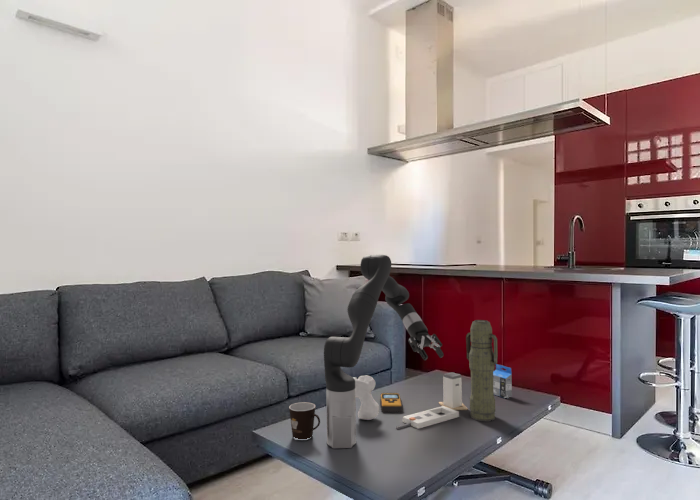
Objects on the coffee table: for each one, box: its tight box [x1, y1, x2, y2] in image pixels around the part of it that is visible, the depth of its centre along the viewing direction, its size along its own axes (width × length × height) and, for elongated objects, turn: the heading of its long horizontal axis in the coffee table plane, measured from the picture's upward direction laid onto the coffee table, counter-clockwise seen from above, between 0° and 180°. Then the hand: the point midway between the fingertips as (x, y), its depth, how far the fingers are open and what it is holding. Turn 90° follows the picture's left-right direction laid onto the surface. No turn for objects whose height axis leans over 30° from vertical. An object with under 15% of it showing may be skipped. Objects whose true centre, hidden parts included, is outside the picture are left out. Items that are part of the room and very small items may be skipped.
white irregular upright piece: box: [352, 374, 380, 421], centre depth 162 cm, size 10×11×15 cm
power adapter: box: [442, 372, 463, 408], centre depth 175 cm, size 5×5×12 cm
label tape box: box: [493, 363, 513, 399], centre depth 188 cm, size 9×4×12 cm, turn 28°
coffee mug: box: [288, 401, 321, 439], centre depth 145 cm, size 12×9×10 cm
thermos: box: [465, 319, 499, 422], centre depth 163 cm, size 9×12×35 cm
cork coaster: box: [438, 401, 469, 411], centre depth 175 cm, size 9×9×1 cm
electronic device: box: [379, 392, 403, 413], centre depth 176 cm, size 8×16×3 cm, turn 177°
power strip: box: [395, 405, 460, 430], centre depth 159 cm, size 8×26×2 cm, turn 124°
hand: (434, 357), depth 178 cm, fingers open, 8 cm apart
